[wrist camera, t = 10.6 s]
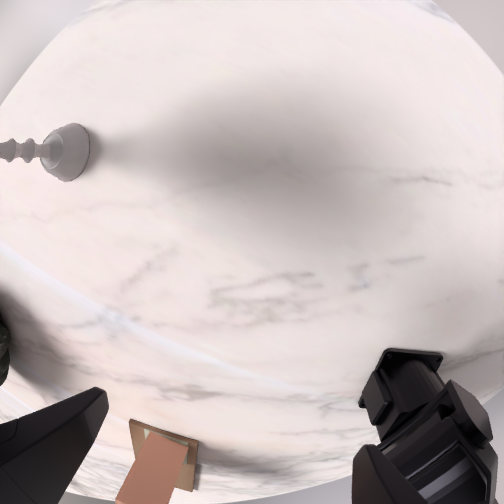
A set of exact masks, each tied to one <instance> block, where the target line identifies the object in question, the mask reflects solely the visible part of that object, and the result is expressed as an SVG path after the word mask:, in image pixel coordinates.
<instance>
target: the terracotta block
mask: <svg viewBox="0 0 504 504" xmlns="http://www.w3.org/2000/svg"><path fill="white" fill-rule="evenodd" d="M188 448H189V447H188V446H185V445H183V444H180V443H178V442H175V441H173V440H170V439H168V438H165V437H163V436H161V435H158V434H156V433H154V432H152V431H150V432H149V434H148V436H147V438H146V440H145V442H144V444H143V446H142V448H141V450H140V452H139V454H138V456H137V457H136V459H135V461H134V463H133V465H132V467H131V469H130V471H129V473H128V475H127V477H126V479H125V481H124V483H123V485H122V487H121V489H120V491H119V493H118V495H117V497H116V499H115V501H116V504H168V503H169V501H170V498H171V495H172V492H173V490H174V487H175V484H176V481H177V478H178V476H179V473H180V470H181V467H182V465H183V462H184V459H185V456H186V453H187V451H188Z"/></svg>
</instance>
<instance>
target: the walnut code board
mask: <svg viewBox="0 0 504 504" xmlns="http://www.w3.org/2000/svg"><path fill="white" fill-rule="evenodd" d="M129 427H130V433H131V439H132V444H133V449H134V454H135V459H136V457H137V456H138V454H139V452H140V450H141V448H142V446H143V444H144V442H145V440H146V438H147V436H148V434H149V432H150V431H152V432H154V433H156V434H158V435H161V436H163V437H165V438H168V439H170V440H173V441H175V442H178V443H180V444H183V445H185V446H188V447H189V448H188V451H187V453H186V456H185V459H184V462H183V465H182V467H181V470H180V473H179V476H178V478H177V481H176V484H175V487H176V488H179V489H182V490H186V491H190V492H192V491H193V486H194V476H195V467H196V458H197V449H198V441H197V440H193V439H190V438H186V437H183V436H179V435H176V434H173V433H170V432H166V431H163V430H160V429H157V428H154V427H152V426H149V425H146V424H143V423H141V422H138V421H135V420H133V419H130V421H129Z"/></svg>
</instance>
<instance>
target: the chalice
mask: <svg viewBox="0 0 504 504" xmlns="http://www.w3.org/2000/svg"><path fill="white" fill-rule="evenodd" d="M89 148H90V143H89V137H88V134H87V132H86V130H85V128H83V127H82V126H81V125H80V124H76V123H71V124H67V125H66V126H64V127H60V128H59V129H56V130H54V131H52V132H51V133H50V134H49V135H48V136H47V137H46V139H45V140H44V141H43V144H41V145H38V144H36V143H35V142H34V140H33V139H31V138H29V139H28V140H26V142H25V143H22V144H19V143H17V142H16V141H15V140H14V139H13V138H12V139H10V140H9V141H7V142H4V143H0V158H3V159H5V160H6V161H7V162H11V161H12V160H13V159H15V158H17V157H21V158H23V160H24V161H25V162H26V163H29V162H30V161H31V160H32V159H33V158H36V157H40V160H41V163H42V166H43V167H44V169H45V170H46V171H47V172H48V173H50V174H52V175H53V176H55V177H57V178H58V179H59V180H62V181H64V182H65V181H72V180H73V179H75V178H77V177H78V176H79V174H80V173H81V172H82V171H83V169H84V167H85V165H86V163H87V160H88V156H89Z"/></svg>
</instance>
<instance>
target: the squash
mask: <svg viewBox="0 0 504 504" xmlns="http://www.w3.org/2000/svg"><path fill="white" fill-rule="evenodd" d="M0 321H1V315H0ZM9 341H10V335H9V331H8V329H7V328H5V327H4V326H3V325H1V324H0V386H1V385H2V384H3V383H4V381H5V380H6V378H7V375H8V370H9V363H10V354H9V350H8V345H9Z"/></svg>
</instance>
